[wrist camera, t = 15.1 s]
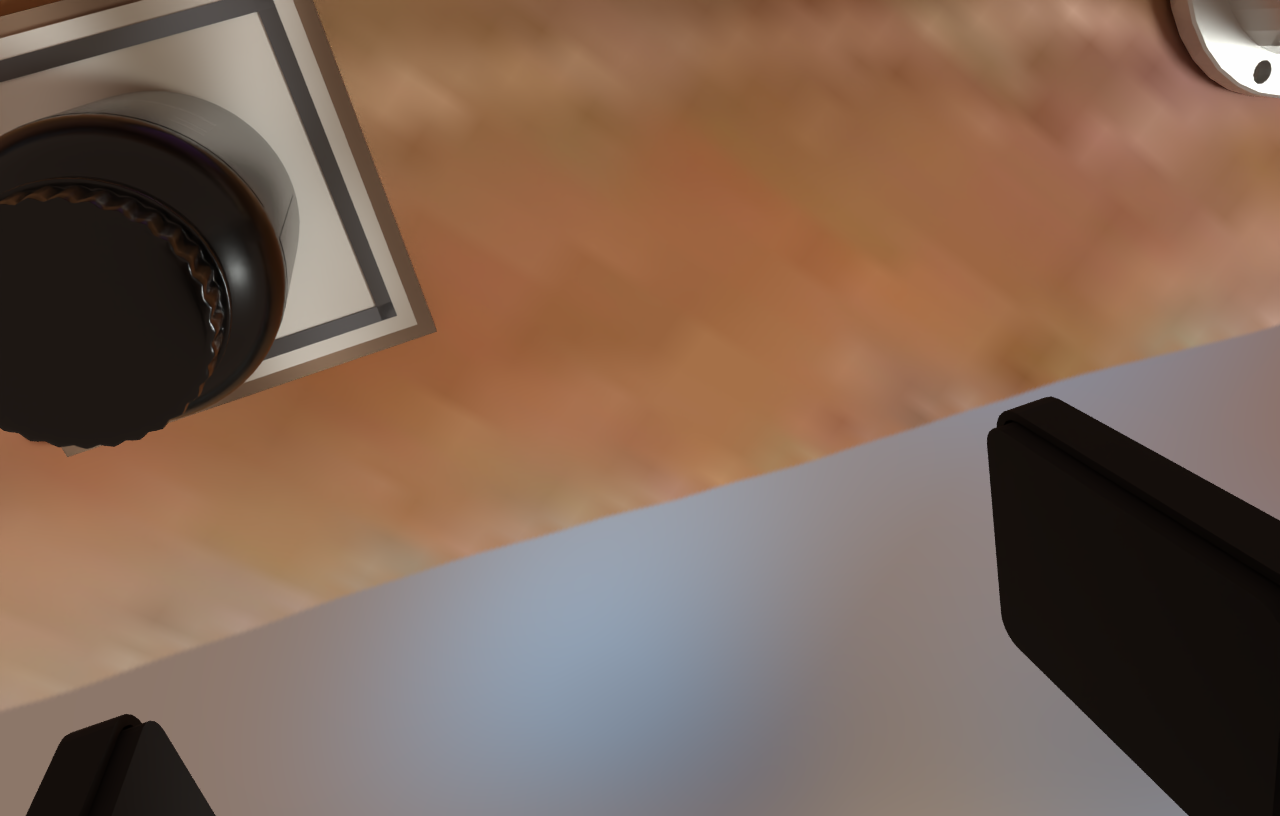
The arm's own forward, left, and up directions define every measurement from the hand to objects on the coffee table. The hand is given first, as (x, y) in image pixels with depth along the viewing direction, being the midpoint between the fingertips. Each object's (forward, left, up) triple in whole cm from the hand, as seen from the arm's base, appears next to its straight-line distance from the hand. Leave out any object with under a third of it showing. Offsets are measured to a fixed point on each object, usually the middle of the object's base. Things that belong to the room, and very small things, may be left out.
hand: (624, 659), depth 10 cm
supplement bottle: (+7, -4, -22) cm, 23 cm away
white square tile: (+7, -4, -23) cm, 25 cm away
